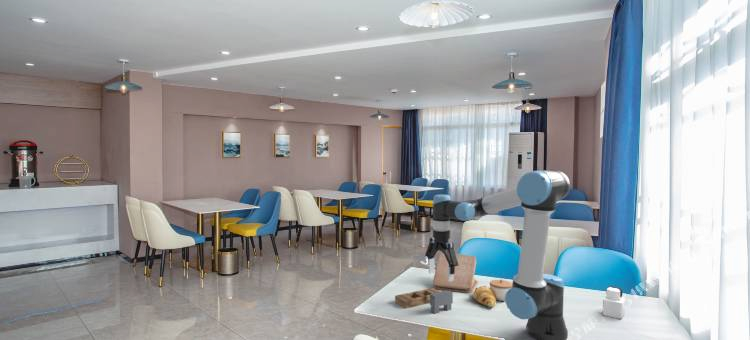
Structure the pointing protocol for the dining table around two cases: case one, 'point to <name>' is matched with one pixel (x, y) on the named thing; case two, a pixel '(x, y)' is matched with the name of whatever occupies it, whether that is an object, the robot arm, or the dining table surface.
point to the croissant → (484, 296)
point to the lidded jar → (500, 288)
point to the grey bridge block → (441, 300)
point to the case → (456, 274)
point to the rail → (415, 298)
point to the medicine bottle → (614, 303)
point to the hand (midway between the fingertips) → (440, 276)
